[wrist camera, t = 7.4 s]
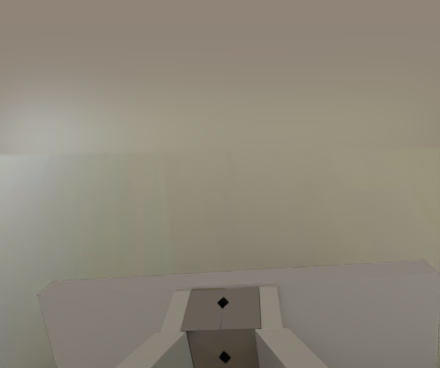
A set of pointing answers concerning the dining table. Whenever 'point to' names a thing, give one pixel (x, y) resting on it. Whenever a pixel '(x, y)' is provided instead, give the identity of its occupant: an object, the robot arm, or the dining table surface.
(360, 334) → the side door
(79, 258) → the dining table surface
